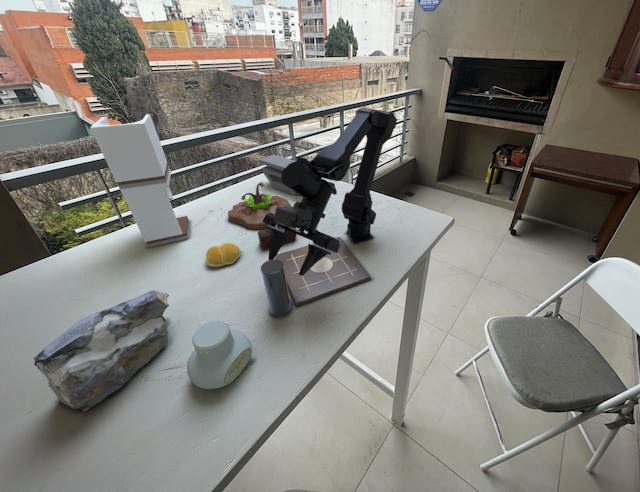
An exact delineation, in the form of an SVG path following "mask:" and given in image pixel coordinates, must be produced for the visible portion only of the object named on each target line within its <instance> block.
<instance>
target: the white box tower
mask: <svg viewBox="0 0 640 492" xmlns="http://www.w3.org/2000/svg"><path fill="white" fill-rule="evenodd" d="M89 129H90V131H91V133H92V135H93V137H94V139H95V141H96V143H97V145H98V147H99V149H100V150H99V151H100V152H101V153H102V156H103V158H104V161H105V162H106V165H107V166H108V168H109V171H110V172H111V174H112V176H113V178H114V180H115V182H116V185H117V187H118V188H119V191H120V192H121V194H122V197H123V198H124V201H125V203H126V205H127V207H128V209H129V211H130V213H131V215H132V217H133V219H134V221H135V223H136V225H137V227H138V230H139V231H140V233H141V235H142V238H143V240H144V242H145V244H146V246H147V248H152V247H156V246H161V245H167V244H171V243H175V242H179V241H184V240H189V234H190V233H189V232H190V231H189V230H190V220H189V217H188V215H184V216H179V217H177V215H176V213H175V211H174V208H173V206H172V203H171V201H172V200H174V196H173V193H172V191H171V188H170V181H171V175H172V171H171V169H170V165H169V163H168V159H167V157H166V155H165V151H164V149H163V146H162V144H161V141H160V138H159V135H158V131H157V130H156V127H155V124H154V122H153V119H152V116H151V114H150V113H146V114H145V116H144V117H143V118H142V119H141V120H138V121H135V122H129V123H121V124H110V122H109V120H108V118H107V116H104V117H103V116H102V117H100V119H98V120H97V121H96V122H94V123H93V124H92V125H91V126H90V127H89Z"/></svg>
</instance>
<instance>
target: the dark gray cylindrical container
mask: <svg viewBox="0 0 640 492" xmlns="http://www.w3.org/2000/svg"><path fill="white" fill-rule="evenodd" d="M260 272H261V276H262V281H263V285H264V290H265V293H266V299H267V302H268V306H269V311H270V314H271V315H272V316H274V317H283V316H284V317H285V316H286V315H287V314H288V313H289V312H290V311H291V308H292V306H291V299H290V294H289V293H290V292H289V287H288V284H287V282H286V276H285V270H284V264H283V262H282V261H280V260H277V258H274V259H272V260H268V259H267V260H266V261H264V262H263V263H262V264H261V266H260Z"/></svg>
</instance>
